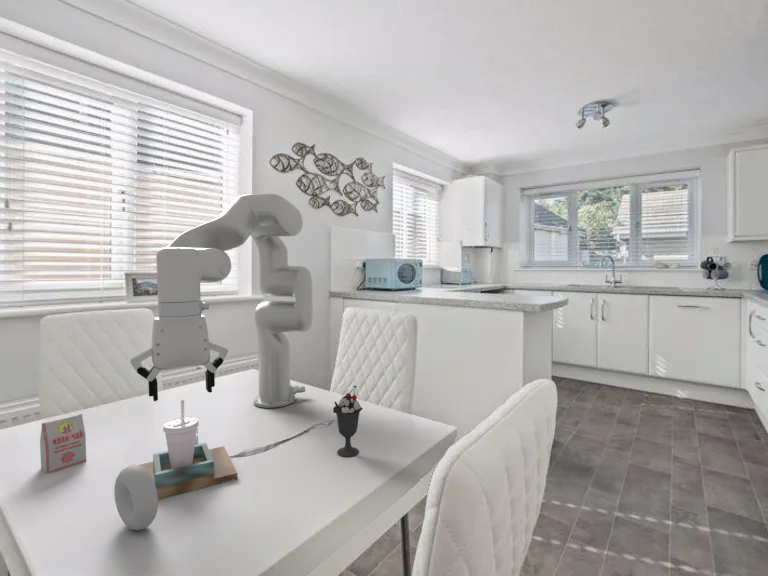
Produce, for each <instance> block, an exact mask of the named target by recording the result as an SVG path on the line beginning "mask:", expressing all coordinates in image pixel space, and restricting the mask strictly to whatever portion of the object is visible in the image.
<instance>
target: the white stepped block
mask: <svg viewBox="0 0 768 576" xmlns="http://www.w3.org/2000/svg"><path fill="white" fill-rule="evenodd" d="M197 444H199V426H198V427H197V431H196V439H195V445H197Z"/></svg>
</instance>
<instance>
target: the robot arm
mask: <svg viewBox="0 0 768 576" xmlns="http://www.w3.org/2000/svg"><path fill="white" fill-rule="evenodd" d="M302 228H303V216H302V213H301V212H300V210H299V209H298V208H297V207H296V206H294V204H292V203H291V202H290V201H288V200H287V199H286V198H284V197H283V196H281V195H279V194H276V193H249V194H247V193H245V194H241V195H239V196H236V197H235V198H234V199H233V200H232V201H231V203H230V204H229V205H227V207H226V208H225V209H224V210H223V211H222V212H221V213H220V214H219V215H218V216H217V217H216V218H214V219H212V220H210V221H207V222H205V223H202V224H200V225H198V226H196V227H193V228H191V229H188V230H186V231H184V232H182V233H181V234H180V235H178V236H177V237H175V238H174V239H173V241H172V242H170V243H169V244H168V245H167V246H166V247H162V248H161V247H160V249H158V250H157V253H156V255H155V257H156V279H157V280H156V283H157V285H156V287H157V301H158V302H157V309H158V311H157V312H158V313H157V314H158V317H154V318H153V323H152V330H151V347H150V348H148V349H145V350H144V351H142V352H140V353H139V354H136V355H135V356H133V357H131V358H130V360H129V361H130V364H131V365H132V367H133V368H134V369H135V371H136V373H137V374H139V376H141V377H142V378H144V379H146V381H148V397H150V398H151V397H152V398H153V402H157V401H158V400H159V396H158V395H159V394H158V379H157V376H158V375H159V374H160V372H161V371H165V370H175V369H185V368H192V367H197V366H198V367H200V366H204V367H205V368H206V370H205V374H204V375H205V389H206V392H207V393H212V392H213V388H214V387H216V386H215V384H216V382H215V381H216V378H215V373H216V371H217V370H218V368H219V367H220V366H221V365H223V363H224V360H225V358H226V356H227V355H228V353H229V350H228V348H226V347H224V346H222V345H218V344H215V343H213V342H210V337H209V330H208V325H207V320H206V316H205V314H202V313H203V312H204V311H205V310H209V308H210V304H209V302H203V301H202V300H201V283H205V284H206V283H220V282H221V281H223V280H225V279H226V278H227V277H228V276H229V274H230V273H231V270H232V260H231V258H230V257H229V254H228V253H227V252H226V251H229V250H232V249H236V248H239V247H240V246H242V245H244V244H245V242H246V241H247V240H248V238H250V236H251V238H252V240H253V241H254V243H255V245H256V247H257V250H258V261H259V263H258V265H259V266H258V267H259V268H258V269H259V273H258V275H259V289H260V291H261V293H262V295H265V296H267V297H284V298H287V297H289V298H294V301H291V300H289V301H288V300H267V301H263V302H261V303H259V304H258V305H257V306H256V308H255V310H254V322H255V326H256V333H257V334H256V335H257V343H258V344H257V346H258V347H257V349H258V354H257V355H258V395H257V396H255V397H254V398H253V404H254V405H255V406H256V407H259V408H265V409H272V408H273V409H274V408H276V409H277V408H282V407H286V406H289V405H291V404H293V403H294V402H295V401H296V394H300V393H301V394H302V393H305V392H306V387H305V385H303V386H299V385H294V386H293V385H291V345H290V342H289V339H288V338H287V336H286V335H285V333H305V332H308V331H309V330H310V328H311V327H312V323H313V279H312V274H311V272H310V270H309V269H308V268H307V267H306V266H301V265H289V262H288V261H289V259H288V254H289V252H288V248H287V246H286V244H285V242H284V241H283V239H281V238H280V237H295V236H297V235H299V234H300V232H301V231H302ZM211 351H214V352H217V353H218V355H217V357H216V358H215V359H214V360H213V361H212V362H211V361H210V360H211ZM150 357H151V362H152V366H151V368H150V369H149V370H148V369H147V368H146V367H145V366H143V364H142V362H143V361H145V360H146V359H148V358H150Z"/></svg>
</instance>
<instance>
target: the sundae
mask: <svg viewBox="0 0 768 576" xmlns="http://www.w3.org/2000/svg"><path fill="white" fill-rule="evenodd" d="M357 387H358V386H357V385H354V386H353V388H352V389H351V391H350V392H347V393H346V394H345V395H344V396H342V397H341V398H340V400H339V402H337V401H334V405H335V406H334V407H333V408H332V411H333V413H334V414H335V415H336V420H337V427H338V432H339V434H340V435H341V436H342V437H344V439H345V441H344V442H345V444H344V446H343V447H340V448H339V449H338V450H337V452H336V454H337V455H338V456H340V457H343V458H351V457H355V456H357V455H358V454H359V453H360V450H359V449H358V448H357V447H354V446H352V443H351V440H352V439H351V438H352V437H353V436H354V435H356V433H357V431H358V426H359V417H360V412H361V411H362V410H363V407H362V406H361V404H360V403H359V401H358V400H357V399H358V397H357V395H356V394H355V390H356V388H357ZM352 391H353V395H352V394H351V392H352Z"/></svg>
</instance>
